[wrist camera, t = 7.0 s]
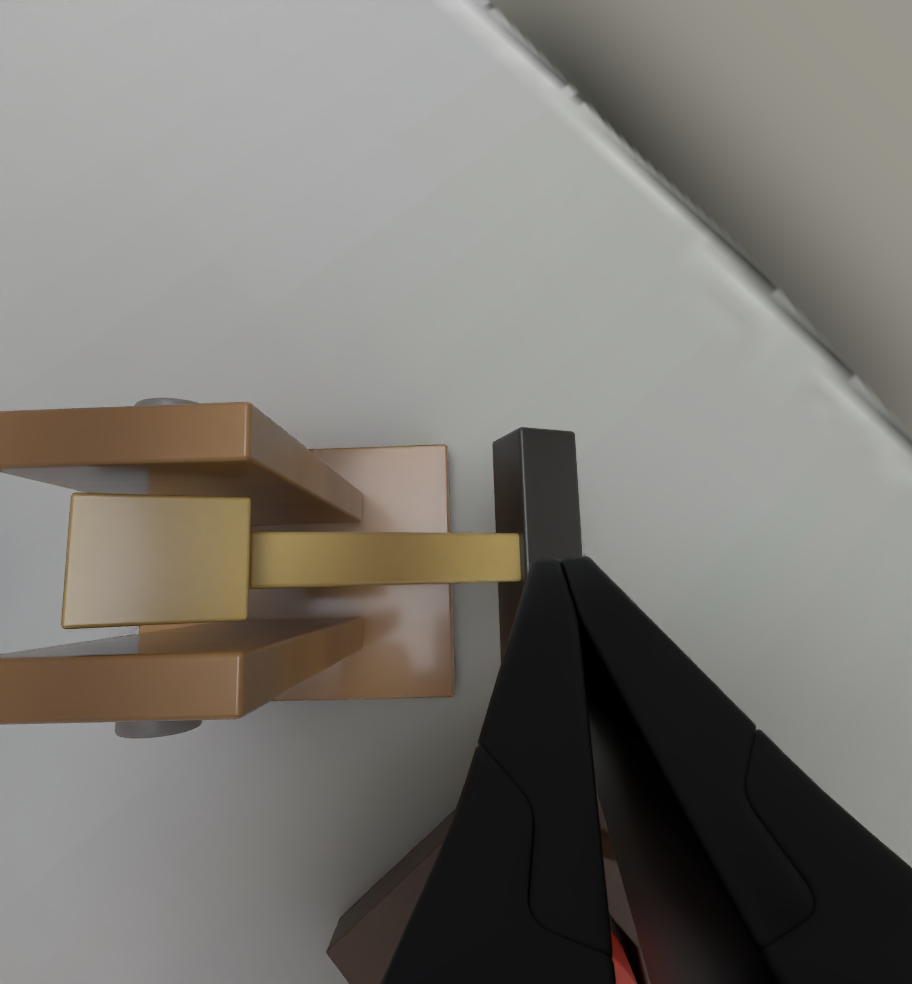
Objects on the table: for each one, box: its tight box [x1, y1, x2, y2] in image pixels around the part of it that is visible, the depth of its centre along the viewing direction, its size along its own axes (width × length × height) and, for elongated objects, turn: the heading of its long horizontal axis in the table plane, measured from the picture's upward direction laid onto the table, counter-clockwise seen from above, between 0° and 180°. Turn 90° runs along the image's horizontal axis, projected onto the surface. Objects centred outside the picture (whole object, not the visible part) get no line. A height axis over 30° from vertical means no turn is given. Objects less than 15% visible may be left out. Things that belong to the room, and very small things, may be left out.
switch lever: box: [61, 427, 582, 662], centre depth 12 cm, size 10×6×2 cm, turn 92°
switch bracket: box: [0, 398, 455, 738], centre depth 15 cm, size 10×8×11 cm
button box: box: [326, 789, 651, 984], centre depth 16 cm, size 8×10×4 cm
